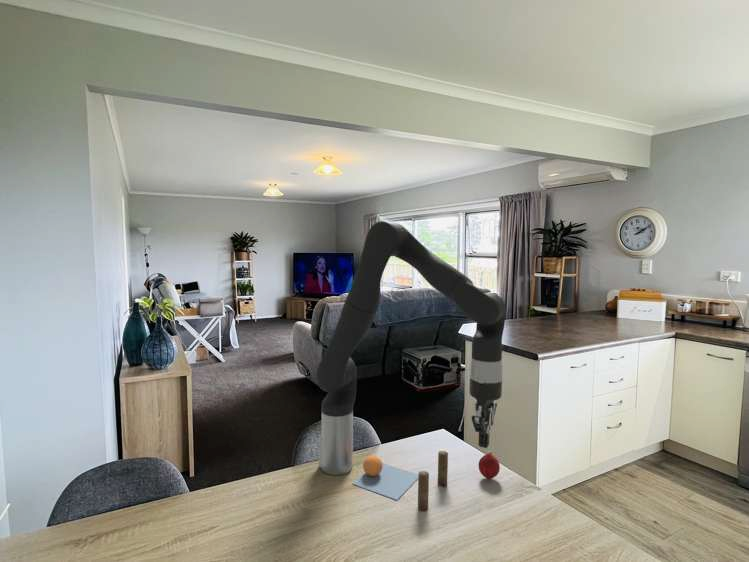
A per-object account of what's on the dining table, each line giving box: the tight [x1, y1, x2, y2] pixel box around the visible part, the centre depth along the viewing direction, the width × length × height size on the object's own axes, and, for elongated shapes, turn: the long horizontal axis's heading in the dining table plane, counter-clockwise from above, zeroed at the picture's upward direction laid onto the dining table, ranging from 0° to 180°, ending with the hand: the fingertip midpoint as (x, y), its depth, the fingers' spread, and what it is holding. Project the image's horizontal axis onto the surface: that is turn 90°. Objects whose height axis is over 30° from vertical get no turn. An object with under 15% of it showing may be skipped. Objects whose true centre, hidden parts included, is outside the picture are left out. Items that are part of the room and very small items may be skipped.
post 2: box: [437, 450, 449, 488], centre depth 116 cm, size 3×3×9 cm
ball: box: [362, 454, 383, 476], centre depth 120 cm, size 6×6×6 cm
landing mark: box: [352, 462, 418, 501], centre depth 118 cm, size 14×14×1 cm
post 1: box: [417, 470, 430, 512], centre depth 105 cm, size 3×3×9 cm
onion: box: [478, 450, 501, 480], centre depth 119 cm, size 6×6×8 cm
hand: (483, 446), depth 103 cm, fingers closed
